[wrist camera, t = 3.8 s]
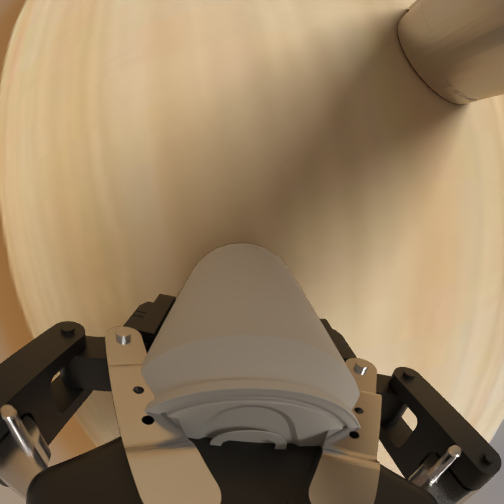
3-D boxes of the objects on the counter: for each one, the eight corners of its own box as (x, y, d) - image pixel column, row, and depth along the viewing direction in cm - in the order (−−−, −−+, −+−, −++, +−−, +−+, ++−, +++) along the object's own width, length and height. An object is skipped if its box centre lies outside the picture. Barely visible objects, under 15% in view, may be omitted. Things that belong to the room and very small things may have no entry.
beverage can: (190, 334, 17) (144, 501, 5) (188, 237, 16) (77, 354, 4) (287, 338, 17) (337, 503, 6) (298, 242, 16) (419, 362, 4)
